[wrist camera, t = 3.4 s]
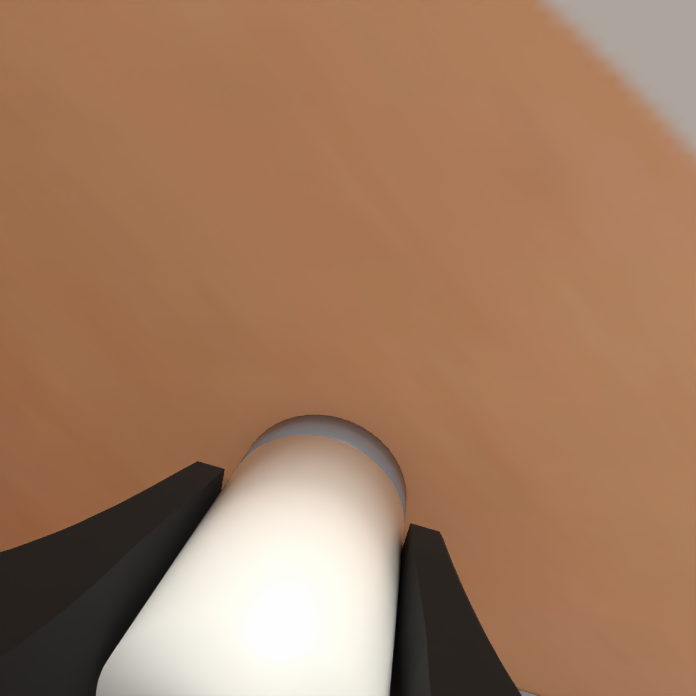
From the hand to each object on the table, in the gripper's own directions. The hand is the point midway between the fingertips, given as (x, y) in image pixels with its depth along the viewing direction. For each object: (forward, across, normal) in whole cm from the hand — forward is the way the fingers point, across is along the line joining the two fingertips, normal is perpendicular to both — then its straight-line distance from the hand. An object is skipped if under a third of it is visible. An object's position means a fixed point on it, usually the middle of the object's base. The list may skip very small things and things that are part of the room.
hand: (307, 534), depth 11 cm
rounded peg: (+2, 0, 0) cm, 2 cm away
